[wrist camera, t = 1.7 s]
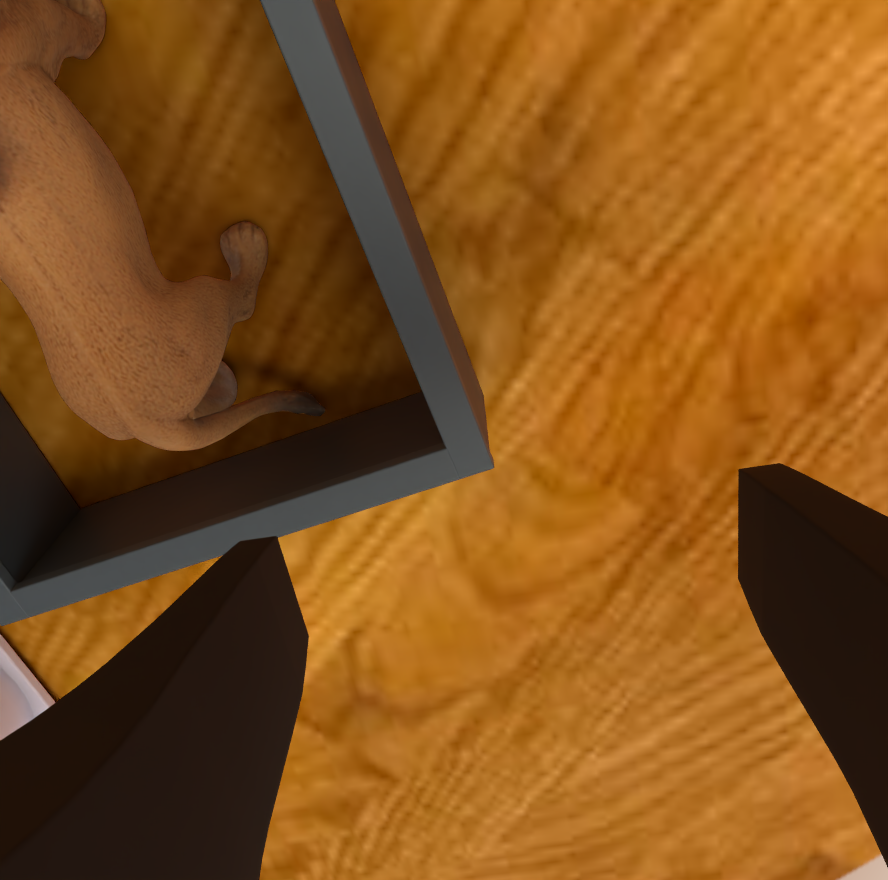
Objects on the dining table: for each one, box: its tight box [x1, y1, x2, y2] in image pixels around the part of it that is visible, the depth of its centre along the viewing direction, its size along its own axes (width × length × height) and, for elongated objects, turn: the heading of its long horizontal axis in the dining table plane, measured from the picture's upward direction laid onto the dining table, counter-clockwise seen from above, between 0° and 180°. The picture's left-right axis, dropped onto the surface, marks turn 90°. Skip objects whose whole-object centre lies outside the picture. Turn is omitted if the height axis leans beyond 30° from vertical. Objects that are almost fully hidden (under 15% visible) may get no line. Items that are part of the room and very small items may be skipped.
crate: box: [0, 0, 494, 626], centre depth 17 cm, size 14×18×4 cm
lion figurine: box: [0, 0, 325, 451], centre depth 15 cm, size 15×5×9 cm, turn 38°
